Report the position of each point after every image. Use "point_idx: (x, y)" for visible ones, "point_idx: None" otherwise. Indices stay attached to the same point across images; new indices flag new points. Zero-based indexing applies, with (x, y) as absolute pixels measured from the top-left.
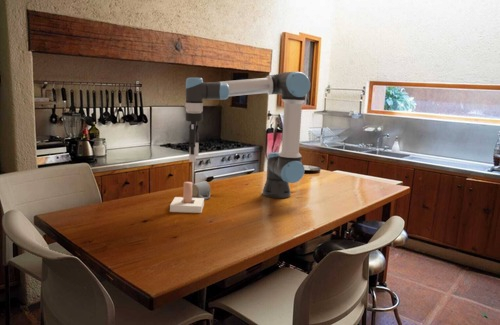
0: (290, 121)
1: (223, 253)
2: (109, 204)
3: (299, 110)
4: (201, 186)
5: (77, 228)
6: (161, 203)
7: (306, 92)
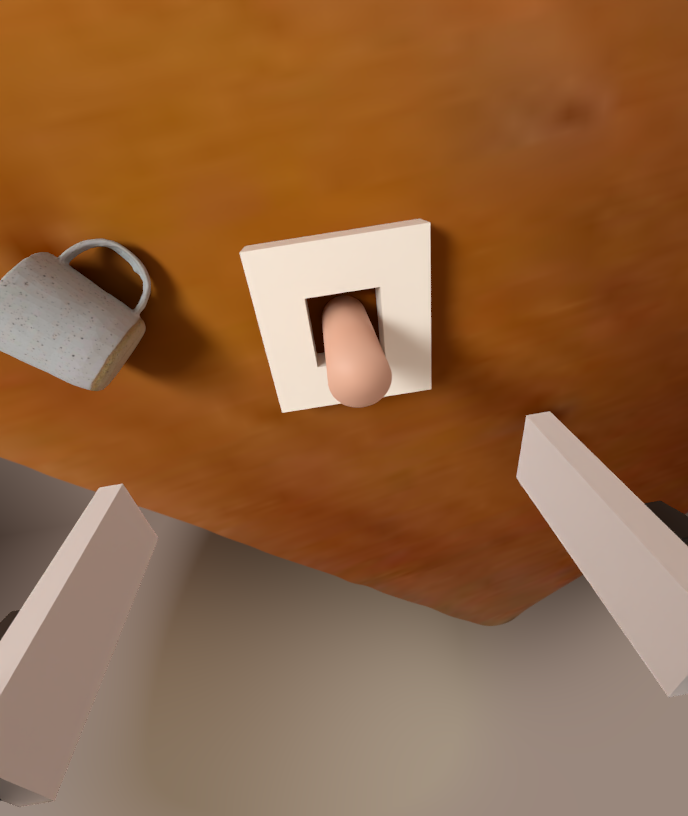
0: None
1: None
2: (371, 565)
3: None
4: (87, 321)
5: None
6: (309, 442)
7: None
